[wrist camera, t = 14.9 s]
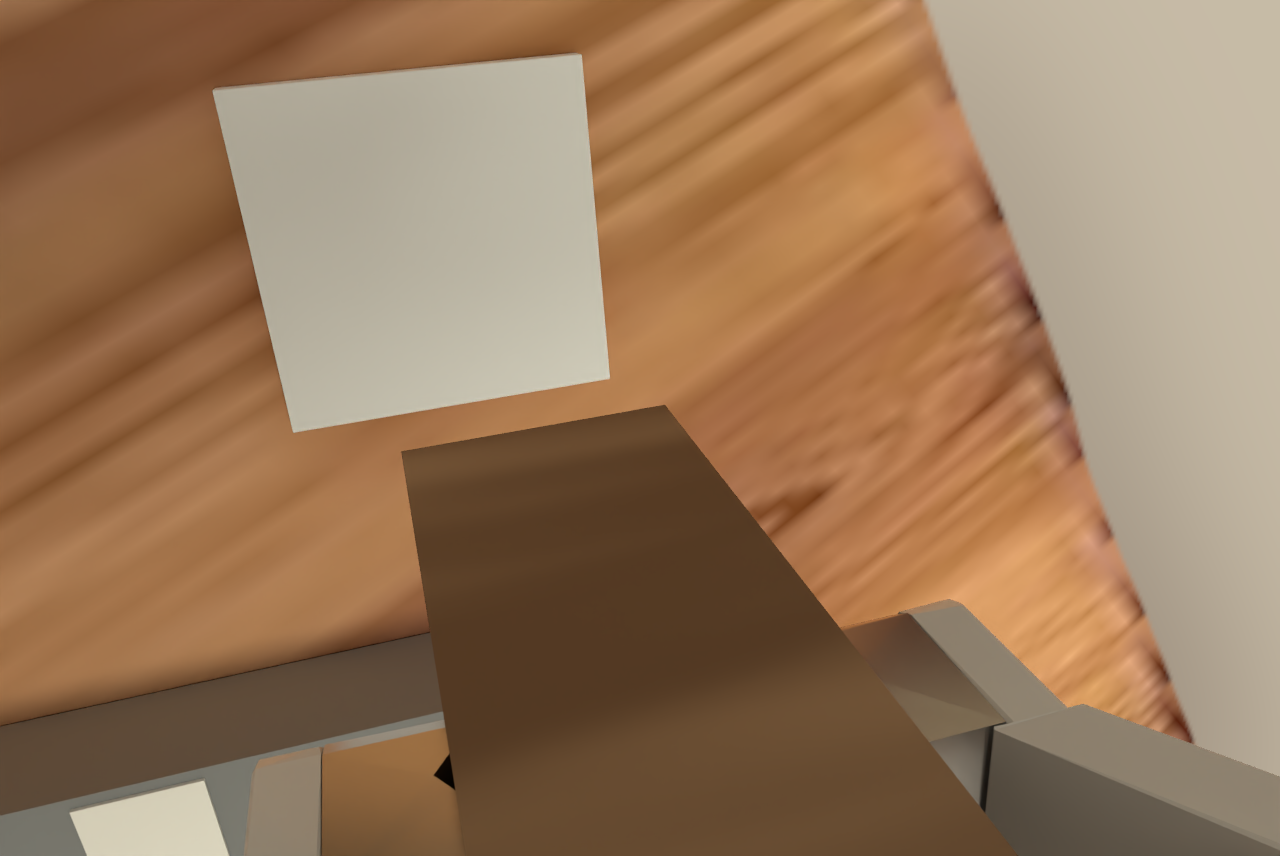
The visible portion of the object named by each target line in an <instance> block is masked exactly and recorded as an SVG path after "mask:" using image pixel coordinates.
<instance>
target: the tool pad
mask: <svg viewBox="0 0 1280 856" xmlns="http://www.w3.org/2000/svg"><path fill="white" fill-rule="evenodd" d="M213 96H214V100H215V104H216V108H217V113H218V117H219V121H220V125H221V129H222V134H223V138H224V142H225V146H226V151H227V155H228V159H229V163H230V168H231V172H232V176H233V180H234V185H235V189H236V193H237V197H238V201H239V206H240V210H241V214H242V218H243V223H244V227H245V231H246V235H247V240H248V244H249V248H250V252H251V257H252V261H253V265H254V269H255V273H256V278H257V282H258V286H259V290H260V295H261V299H262V303H263V307H264V312H265V316H266V320H267V324H268V329H269V333H270V337H271V341H272V345H273V350H274V354H275V358H276V362H277V367H278V371H279V375H280V379H281V384H282V388H283V392H284V396H285V401H286V405H287V409H288V413H289V417H290V422H291V426H292V430H293V433H295V432H301V431H306V430H312V429H318V428H324V427H330V426H336V425H342V424H348V423H353V422H359V421H365V420H371V419H377V418H383V417H389V416H394V415H400V414H406V413H412V412H418V411H424V410H430V409H435V408H441V407H447V406H453V405H459V404H465V403H471V402H476V401H482V400H488V399H494V398H500V397H506V396H512V395H517V394H523V393H529V392H535V391H541V390H547V389H553V388H558V387H564V386H570V385H576V384H582V383H588V382H594V381H599V380H605V379H610V373H609V361H608V350H607V338H606V327H605V316H604V304H603V293H602V281H601V270H600V258H599V247H598V236H597V224H596V213H595V201H594V190H593V178H592V167H591V155H590V144H589V133H588V121H587V110H586V98H585V87H584V75H583V64H582V54H579V53H567V54H557V55H546V56H536V57H526V58H516V59H505V60H495V61H485V62H475V63H464V64H454V65H444V66H434V67H423V68H413V69H403V70H393V71H383V72H372V73H362V74H352V75H342V76H331V77H321V78H311V79H301V80H290V81H280V82H270V83H260V84H249V85H239V86H229V87H219V88H214V89H213Z"/></svg>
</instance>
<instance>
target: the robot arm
mask: <svg viewBox="0 0 1280 856" xmlns="http://www.w3.org/2000/svg"><path fill="white" fill-rule="evenodd" d="M840 629H841V630H842V631H843V633H844V634H845V635H846V637H847V638H848V639H849V640H850V642H851V643H852V644H853V645H854V647H855V648H856V649H857V651H858V652H859V653H860V654H861V656H862V657H863V658H864V660H865V661H866V662H867V663H868V665H869V666H870V667H871V668H872V670H873V671H874V672H875V674H876V675H877V676H878V677H879V679H880V680H881V681H882V682H883V684H884V685H885V686H886V688H887V689H888V690H889V691H890V693H891V694H892V695H893V697H894V698H895V699H896V700H897V702H898V703H899V704H900V705H901V707H902V708H903V709H904V711H905V712H906V713H907V714H908V716H909V717H910V718H911V719H912V721H913V722H914V723H915V725H916V726H917V727H918V728H919V730H920V731H921V732H922V733H923V735H924V736H925V737H926V739H927V740H928V741H929V742H930V744H931V745H932V746H933V748H934V749H935V750H936V751H937V753H938V754H939V755H940V756H941V758H942V759H943V760H944V762H945V763H946V764H947V765H948V767H949V768H950V769H951V770H952V772H953V773H954V774H955V776H956V777H957V778H958V779H959V781H960V782H961V783H962V784H963V786H964V787H965V788H966V790H967V791H968V792H969V793H970V795H971V796H972V797H973V799H974V800H975V801H976V802H977V804H978V805H979V806H980V807H981V809H982V810H983V811H984V813H985V814H986V815H987V816H988V818H989V819H990V820H991V821H992V823H993V824H994V825H995V827H996V828H997V829H998V830H999V832H1000V833H1001V834H1002V835H1003V837H1004V838H1005V839H1006V841H1007V842H1008V843H1009V844H1010V846H1011V847H1012V848H1013V850H1014V851H1015V852H1016V853H1017V855H1018V856H1280V777H1279V776H1276V775H1274V774H1271V773H1269V772H1266V771H1263V770H1260V769H1258V768H1255V767H1252V766H1250V765H1247V764H1244V763H1242V762H1239V761H1236V760H1233V759H1231V758H1228V757H1225V756H1223V755H1220V754H1217V753H1215V752H1212V751H1209V750H1206V749H1204V748H1201V747H1198V746H1196V745H1193V744H1190V743H1188V742H1185V741H1182V740H1179V739H1177V738H1174V737H1171V736H1169V735H1166V734H1163V733H1161V732H1158V731H1155V730H1152V729H1150V728H1147V727H1144V726H1142V725H1139V724H1136V723H1134V722H1131V721H1128V720H1125V719H1123V718H1120V717H1117V716H1115V715H1112V714H1109V713H1107V712H1104V711H1101V710H1098V709H1096V708H1093V707H1090V706H1088V705H1085V704H1081V705H1077V706H1073V707H1069V708H1067V707H1066V706H1065V705H1064V704H1063V703H1062V702H1061V701H1060V700H1059V699H1058V698H1057V697H1056V696H1055V695H1054V694H1053V693H1052V692H1051V691H1050V690H1049V689H1048V688H1047V687H1046V686H1045V685H1044V684H1043V683H1042V682H1041V681H1040V680H1039V679H1038V678H1037V677H1036V676H1035V675H1034V674H1033V673H1032V672H1031V671H1030V670H1029V669H1028V668H1027V667H1026V666H1025V665H1024V664H1023V663H1022V662H1021V661H1020V660H1019V659H1018V658H1016V657H1015V656H1014V655H1013V654H1012V653H1011V652H1010V651H1009V650H1008V649H1007V648H1006V647H1005V646H1004V645H1003V644H1002V643H1001V642H1000V641H999V640H998V639H997V638H996V637H995V636H994V635H993V634H992V633H991V632H990V631H989V630H988V629H987V628H986V627H985V626H984V625H983V624H982V623H981V622H980V621H979V620H978V619H977V618H976V617H975V616H974V615H973V614H972V613H971V612H970V611H969V610H968V609H967V608H966V607H965V606H964V605H962V604H961V603H959V602H956V601H953V600H951V599H947V600H943V601H939V602H935V603H932V604H928V605H924V606H920V607H916V608H912V609H908V610H905V611H901V612H899V613H898V614H896V615H890V616H886V617H882V618H878V619H874V620H870V621H865V622H861V623H857V624H853V625H849V626H845V627H840ZM244 856H466V853H465V847H464V840H463V834H462V828H461V822H460V815H459V809H458V803H457V797H456V790H455V784H454V778H453V772H452V765H451V759H450V753H449V747H448V740H447V734H446V728H445V722H444V720H440V721H436V722H431V723H426V724H421V725H417V726H412V727H407V728H402V729H398V730H393V731H388V732H383V733H379V734H374V735H369V736H364V737H360V738H355V739H350V740H345V741H341V742H336V743H331V744H326V745H325V746H324V747H316V748H311V749H307V750H302V751H298V752H293V753H288V754H284V755H279V756H275V757H270V758H265V759H261V760H259V761H258V763H257V765H256V767H255V769H254V771H253V773H252V778H251V788H250V798H249V808H248V818H247V828H246V839H245V849H244Z"/></svg>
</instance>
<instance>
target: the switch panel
mask: <svg viewBox="0 0 1280 856" xmlns="http://www.w3.org/2000/svg"><path fill="white" fill-rule="evenodd" d="M440 720H444V715H443V709H442V703H441V696H440V690H439V684H438V678H437V671H436V665H435V659H434V653H433V646H432V640H431V634H430V633H426V634H422V635H417V636H413V637H408V638H404V639H399V640H394V641H390V642H385V643H381V644H376V645H371V646H367V647H362V648H358V649H353V650H349V651H344V652H339V653H335V654H330V655H326V656H321V657H316V658H312V659H307V660H303V661H298V662H294V663H289V664H284V665H280V666H275V667H271V668H266V669H262V670H257V671H252V672H248V673H243V674H239V675H234V676H229V677H225V678H220V679H216V680H211V681H207V682H202V683H197V684H193V685H188V686H184V687H179V688H174V689H170V690H165V691H161V692H156V693H152V694H147V695H142V696H138V697H133V698H129V699H124V700H120V701H115V702H110V703H106V704H101V705H97V706H92V707H87V708H83V709H78V710H74V711H69V712H65V713H60V714H55V715H51V716H46V717H42V718H37V719H32V720H28V721H23V722H19V723H14V724H10V725H5V726H0V856H244V849H245V839H246V828H247V818H248V808H249V798H250V788H251V778H252V773H253V771H254V769H255V767H256V765H257V763H258V761H259V760H261V759H265V758H270V757H275V756H279V755H284V754H288V753H293V752H298V751H302V750H307V749H311V748H316V747H324V746H325V745H326V744H331V743H336V742H341V741H345V740H350V739H355V738H360V737H364V736H369V735H374V734H379V733H383V732H388V731H393V730H398V729H402V728H407V727H412V726H417V725H421V724H426V723H431V722H436V721H440Z"/></svg>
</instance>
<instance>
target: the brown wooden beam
mask: <svg viewBox="0 0 1280 856" xmlns="http://www.w3.org/2000/svg"><path fill="white" fill-rule="evenodd" d="M402 459H403V465H404V471H405V477H406V484H407V490H408V496H409V502H410V509H411V515H412V521H413V527H414V534H415V540H416V546H417V553H418V559H419V565H420V571H421V578H422V584H423V590H424V596H425V603H426V609H427V615H428V621H429V628H430V634H431V640H432V646H433V653H434V659H435V665H436V671H437V678H438V684H439V690H440V696H441V703H442V709H443V715H444V722H445V728H446V734H447V740H448V747H449V753H450V759H451V765H452V772H453V778H454V784H455V790H456V797H457V803H458V809H459V815H460V822H461V828H462V834H463V840H464V847H465V853H466V856H1018V855H1017V853H1016V852H1015V851H1014V850H1013V848H1012V847H1011V846H1010V844H1009V843H1008V842H1007V841H1006V839H1005V838H1004V837H1003V835H1002V834H1001V833H1000V832H999V830H998V829H997V828H996V827H995V825H994V824H993V823H992V821H991V820H990V819H989V818H988V816H987V815H986V814H985V813H984V811H983V810H982V809H981V807H980V806H979V805H978V804H977V802H976V801H975V800H974V799H973V797H972V796H971V795H970V793H969V792H968V791H967V790H966V788H965V787H964V786H963V784H962V783H961V782H960V781H959V779H958V778H957V777H956V776H955V774H954V773H953V772H952V770H951V769H950V768H949V767H948V765H947V764H946V763H945V762H944V760H943V759H942V758H941V756H940V755H939V754H938V753H937V751H936V750H935V749H934V748H933V746H932V745H931V744H930V742H929V741H928V740H927V739H926V737H925V736H924V735H923V733H922V732H921V731H920V730H919V728H918V727H917V726H916V725H915V723H914V722H913V721H912V719H911V718H910V717H909V716H908V714H907V713H906V712H905V711H904V709H903V708H902V707H901V705H900V704H899V703H898V702H897V700H896V699H895V698H894V697H893V695H892V694H891V693H890V691H889V690H888V689H887V688H886V686H885V685H884V684H883V682H882V681H881V680H880V679H879V677H878V676H877V675H876V674H875V672H874V671H873V670H872V668H871V667H870V666H869V665H868V663H867V662H866V661H865V660H864V658H863V657H862V656H861V654H860V653H859V652H858V651H857V649H856V648H855V647H854V645H853V644H852V643H851V642H850V640H849V639H848V638H847V637H846V635H845V634H844V633H843V631H842V630H841V629H840V628H839V626H838V625H837V624H836V623H835V621H834V620H833V619H832V617H831V616H830V615H829V614H828V612H827V611H826V610H825V609H824V607H823V606H822V605H821V603H820V602H819V601H818V600H817V598H816V597H815V596H814V594H813V593H812V592H811V591H810V589H809V588H808V587H807V586H806V584H805V583H804V582H803V580H802V579H801V578H800V577H799V575H798V574H797V573H796V572H795V570H794V569H793V568H792V566H791V565H790V564H789V563H788V561H787V560H786V559H785V558H784V556H783V555H782V554H781V552H780V551H779V550H778V549H777V547H776V546H775V545H774V543H773V542H772V541H771V540H770V538H769V537H768V536H767V535H766V533H765V532H764V531H763V529H762V528H761V527H760V526H759V524H758V523H757V522H756V521H755V519H754V518H753V517H752V515H751V514H750V513H749V512H748V510H747V509H746V508H745V507H744V505H743V504H742V503H741V501H740V500H739V499H738V498H737V496H736V495H735V494H734V492H733V491H732V490H731V489H730V487H729V486H728V485H727V484H726V482H725V481H724V480H723V478H722V477H721V476H720V475H719V473H718V472H717V471H716V470H715V468H714V467H713V466H712V464H711V463H710V462H709V461H708V459H707V458H706V457H705V455H704V454H703V453H702V452H701V450H700V449H699V448H698V447H697V445H696V444H695V443H694V441H693V440H692V439H691V438H690V436H689V435H688V434H687V433H686V431H685V430H684V429H683V427H682V426H681V425H680V424H679V422H678V421H677V420H676V419H675V417H674V416H673V415H672V413H671V412H670V411H669V410H668V408H667V407H666V406H665V405H662V406H656V407H650V408H645V409H639V410H634V411H628V412H622V413H617V414H611V415H605V416H600V417H594V418H588V419H583V420H577V421H571V422H566V423H560V424H555V425H549V426H543V427H538V428H532V429H526V430H521V431H515V432H509V433H504V434H498V435H492V436H487V437H481V438H475V439H470V440H464V441H459V442H453V443H447V444H442V445H436V446H430V447H425V448H419V449H413V450H408V451H402Z"/></svg>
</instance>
